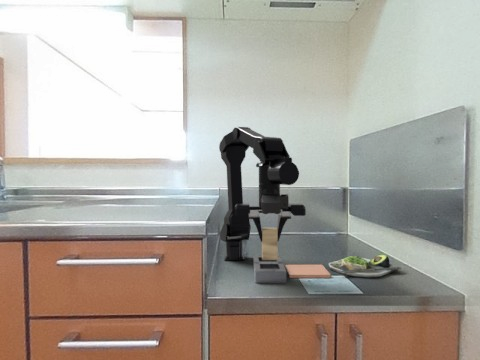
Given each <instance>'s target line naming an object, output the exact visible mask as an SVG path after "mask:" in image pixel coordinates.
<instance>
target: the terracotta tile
mask: <svg viewBox="0 0 480 360" xmlns="http://www.w3.org/2000/svg"><path fill="white" fill-rule="evenodd" d="M284 267H285V269H286V273H287V274H288V276H289V278H290V279H299V278H300V279H302V278H303V279H305V278H306V279H308V278H309V279H312V278H313V279H317V278H318V279H323V278H324V279H327V278H328V279H329V278H331V277H332V276H331V272H329V271H328V270H327V269H326V268H325V266H324V265H323V264H285V265H284Z"/></svg>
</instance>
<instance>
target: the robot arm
mask: <svg viewBox="0 0 480 360" xmlns="http://www.w3.org/2000/svg"><path fill="white" fill-rule="evenodd" d="M249 148H251V149H252V153H253V155H255V157H256V158H258V159H259V161H258V162H256V165H255V167H256V168H258V206H257V205H256V206H255V205H253V206H251V205H250V203H244V201H243V199H244V198H243V197H244V196H243V182H242V181H243V177H242V164H243V162H244V161H245V158H246V152H247V150H248V149H249ZM219 152H220V158H221V160H222V162H223V163H224V165H225V166H226V182H227V183H226V185H227V203H228V206H227V207H228V209H227V212H226V214H225V215H224V218H223V225H222V227H221V229H220V232H219V239H220V241H222V242H225V255H224V258H223V260H224V261H245V254H244V241H248V240H249V239H250V233H251V229H252V228H251V227H252V226H251V222H250V220H253V223H254V225H255V227H256V229H257V235H258V236H259V241H260V242H261V243H262V224H261V217H260V214H264V215H269V214H274V215H278V216H277V225H276V228H277V230H278V242H280V239H281V235H282V232H283V229H284V226H285V225H286V222H287V221H288V220H291V219H292V216H294V217H295V216H296V217H299V216H301V217H302V216H303V217H305V216H306V215H307V214H306V213H307V212H306V206H305V205H304V204H302V203H289V194H288V193H287V194H281V185H283V186H284V185H285V186H292V185H294V184H296V182H297V181H298V180H299V177H300V171H299V168H298V167H297V165H296V164H295V163H294V162H293V158H292V157H291V156H290V154H289V152H288V151H287V149H286V146H285V143H284V140H283V139H282V138H281V137H276V136H275V137H274V136H265V135H262V133H259V132H257V131H255V130H253V129H251V127H248V126H236V127H234V128H233V129H232V131H230V132H229V133H227V134H226V135H224V136H223V137H222V139H221V140H220V142H219ZM291 215H292V216H291Z"/></svg>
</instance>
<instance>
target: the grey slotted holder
mask: <svg viewBox="0 0 480 360" xmlns="http://www.w3.org/2000/svg"><path fill="white" fill-rule="evenodd" d="M252 259H253V261H252V262H253V264H252V265H253V274H254V283H255V284H266V283H267V284H272V283H273V284H279V283H280V284H286V283H287V270H286V268H285V265H284V262H283V260H282V259H281V256H280V255H278V260H262V255H253V257H252Z"/></svg>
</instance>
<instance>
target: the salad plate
mask: <svg viewBox="0 0 480 360" xmlns="http://www.w3.org/2000/svg"><path fill="white" fill-rule="evenodd" d="M343 266H345V267H346V268H347V269H340V268H341V267H343ZM328 267H329V268H330V269H331V270H333V272H336V273H338V274H343V275H345V276H348V277H349V276H351V277H359V278H378V277H380V278H381V277H382V276H387V275H390V274H393V273H394V272H397V271H398V270H401V269H402V267H400V266H397V267H396V266H395V265H394V264H392V263H390V259H389V257H388V254H379V255H376V256H374V258H372V259H368V258H365V257H360V256H359V255H355V256H354V255H353V256H352V255H351V256H347V257H344V258H340V259H339V260H336V261H331V262H328Z"/></svg>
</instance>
